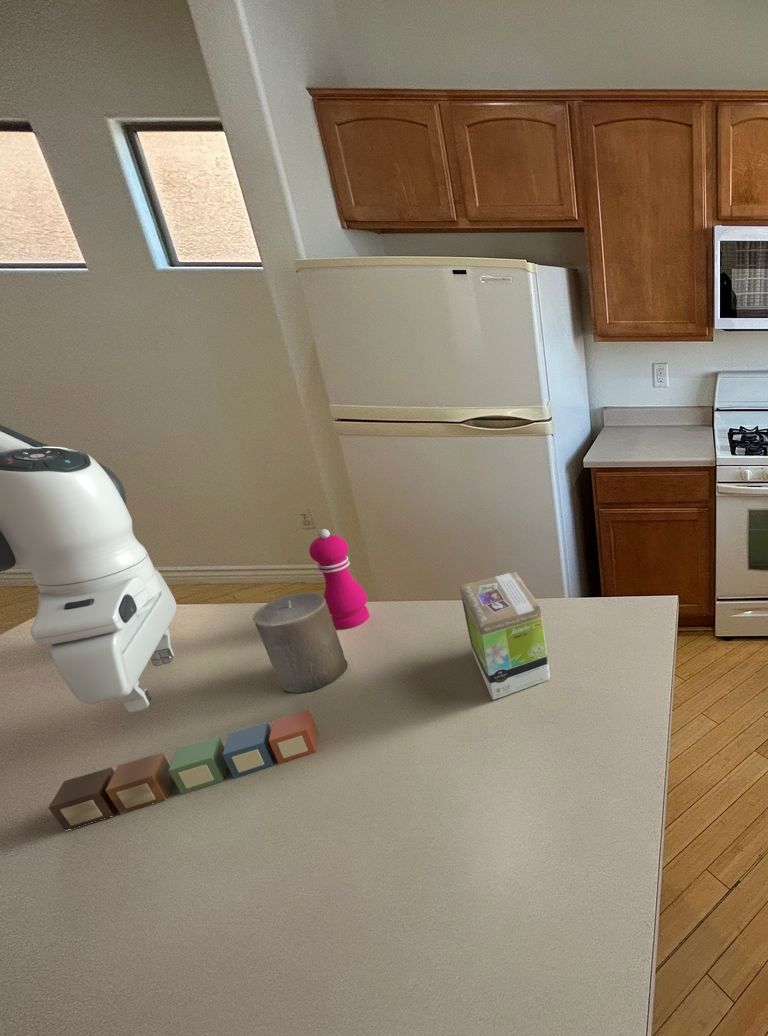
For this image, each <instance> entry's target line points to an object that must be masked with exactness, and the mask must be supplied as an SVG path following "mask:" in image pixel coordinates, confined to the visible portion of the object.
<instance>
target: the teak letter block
mask: <svg viewBox="0 0 768 1036" xmlns="http://www.w3.org/2000/svg"><path fill="white" fill-rule="evenodd" d="M170 765H171V764H169V762H168V759H167V758H166V756H165V754H164V753H163V752H159V753H156V754H153V755H149V756H146V757H142V758H139V759H135V760H132V761H129V762H126V763H122V764H119V765H117V766H116V769H115V771H114V774H113V776H112V778H111V780H110V782H109V784H108V786H107V788H106V790H105V791H106V792H107V794H108V795H109V797H110V799H111V800H112V802H113V803H114V805H115V806H116V808H117V811H118V813H119V814H120V815H123V814H122V813H124V812H127V811H130V812H132V811H131V810H133V811H136V810H139V809H138V808H140V809H142V808H141V807H143V808H145V807H144V806H146V807H148V806H147V805H149V806H151V805H150V804H152V803H155V804H158V803H161V802H163V801H162V800H164V801H166V800H167V799H166V797H167V798H168V796H169V794H168V792H169V793H170V791H169V790H171V788H172V785H173V783H174V780H173V778H172V776H171V774H170V773H169V771H168V770H169V768H170ZM167 795H168V796H167ZM165 799H166V800H165ZM160 801H161V802H160ZM157 802H158V803H157ZM152 805H153V804H152ZM135 809H136V810H135ZM127 813H128V812H127ZM124 814H125V813H124Z"/></svg>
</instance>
